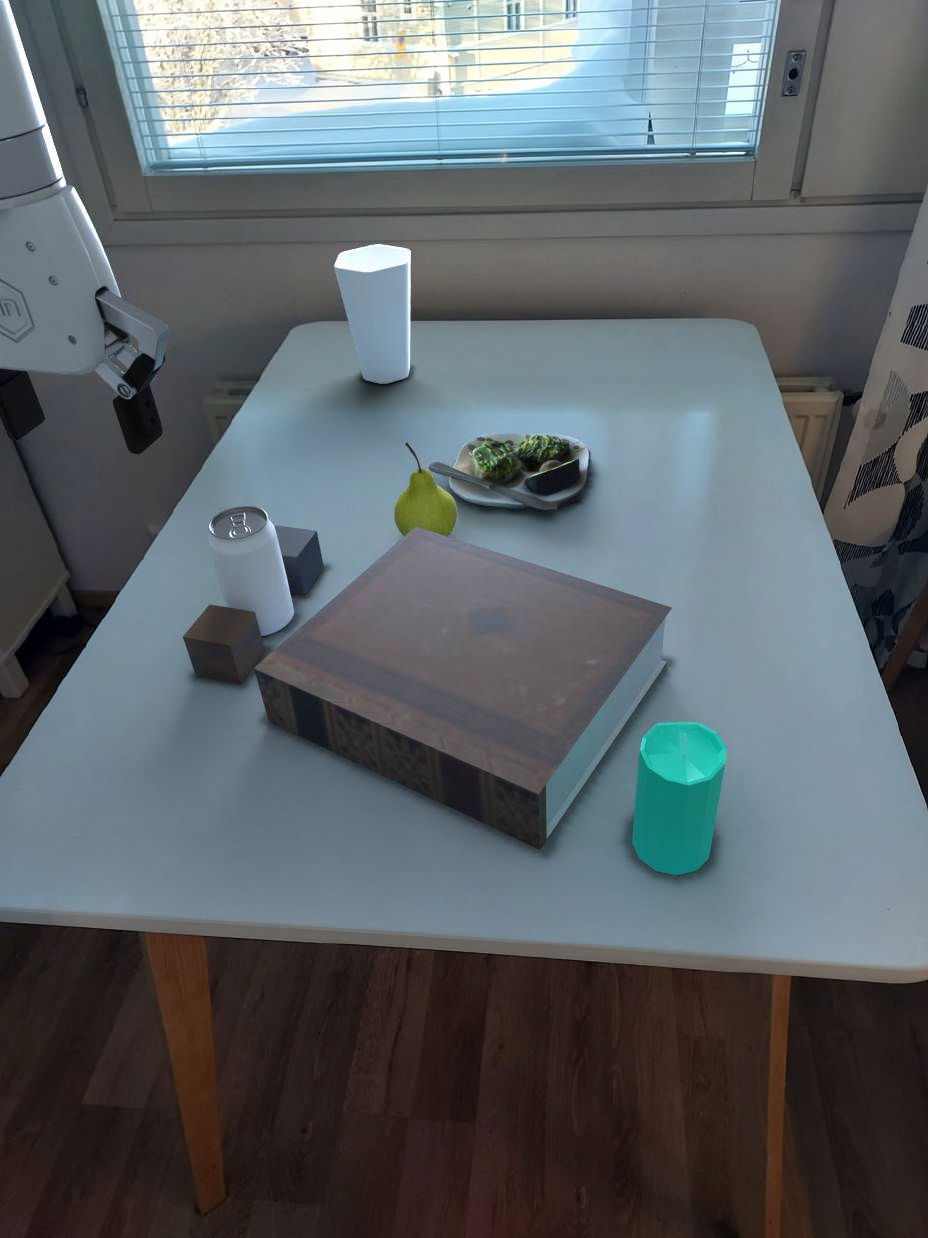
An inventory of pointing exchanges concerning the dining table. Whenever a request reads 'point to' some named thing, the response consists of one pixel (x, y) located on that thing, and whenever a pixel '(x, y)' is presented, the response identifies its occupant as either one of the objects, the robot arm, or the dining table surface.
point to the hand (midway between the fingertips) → (86, 437)
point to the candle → (677, 796)
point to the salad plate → (519, 471)
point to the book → (469, 678)
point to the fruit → (425, 505)
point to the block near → (224, 643)
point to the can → (251, 566)
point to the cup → (378, 308)
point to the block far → (300, 557)
